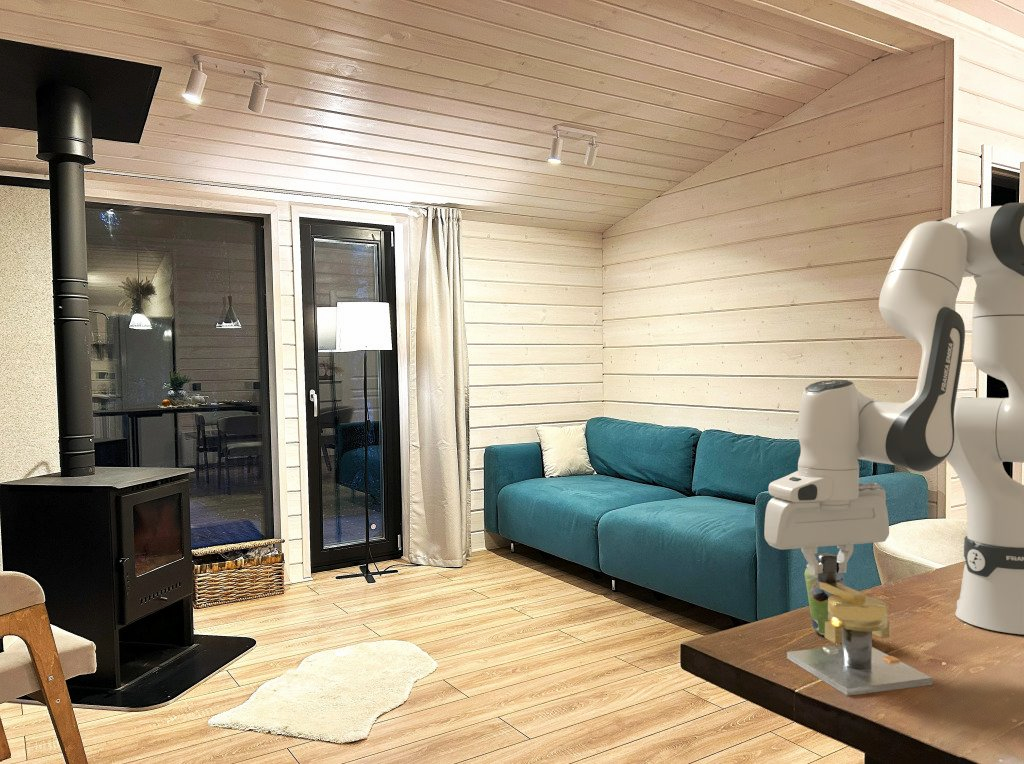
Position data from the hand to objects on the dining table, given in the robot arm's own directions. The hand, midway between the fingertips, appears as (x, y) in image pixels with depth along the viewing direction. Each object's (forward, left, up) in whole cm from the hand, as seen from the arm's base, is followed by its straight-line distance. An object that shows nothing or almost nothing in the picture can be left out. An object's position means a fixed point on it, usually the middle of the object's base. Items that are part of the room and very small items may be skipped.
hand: (827, 573), depth 124 cm
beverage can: (-6, -8, -13) cm, 16 cm away
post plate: (0, +7, -13) cm, 15 cm away
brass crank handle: (0, +5, -8) cm, 9 cm away
